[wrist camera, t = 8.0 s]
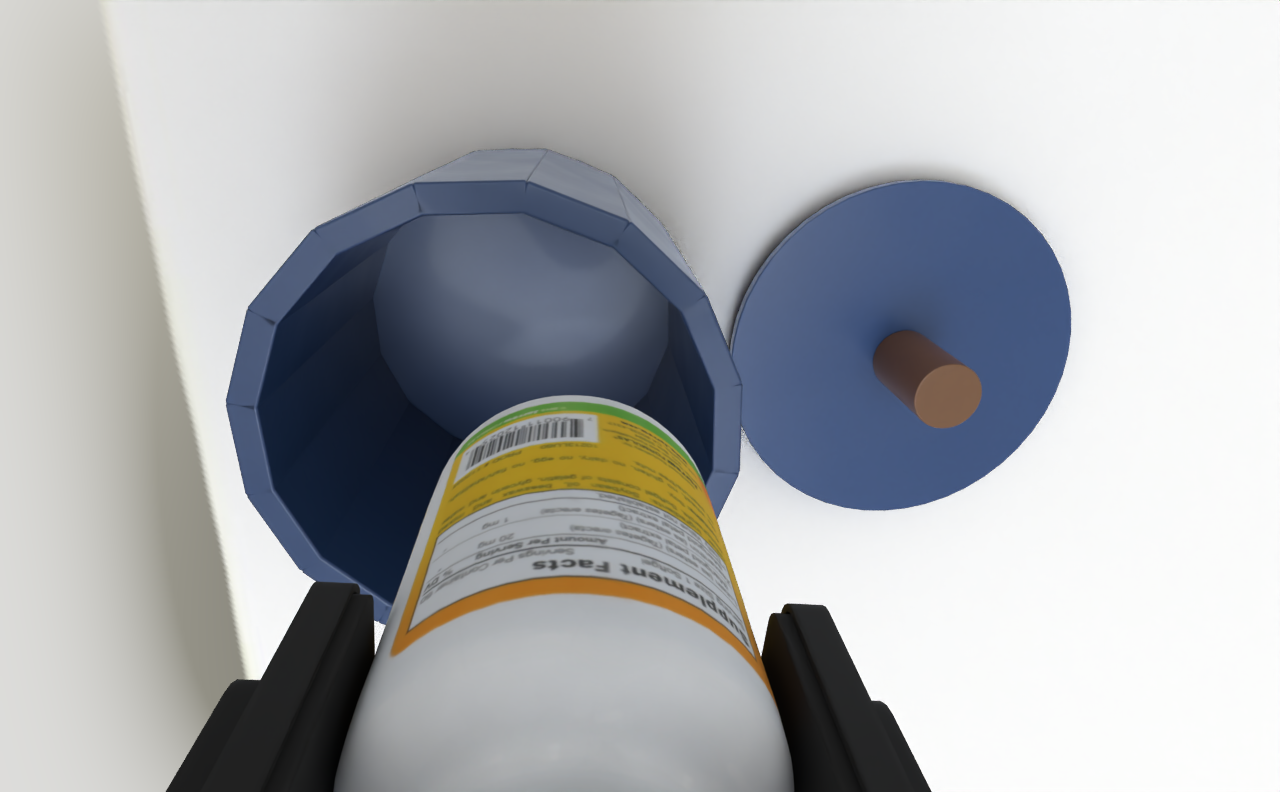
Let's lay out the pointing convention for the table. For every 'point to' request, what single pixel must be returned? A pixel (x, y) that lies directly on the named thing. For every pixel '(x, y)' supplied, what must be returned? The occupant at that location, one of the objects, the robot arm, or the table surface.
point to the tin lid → (900, 344)
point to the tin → (462, 349)
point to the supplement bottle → (568, 625)
